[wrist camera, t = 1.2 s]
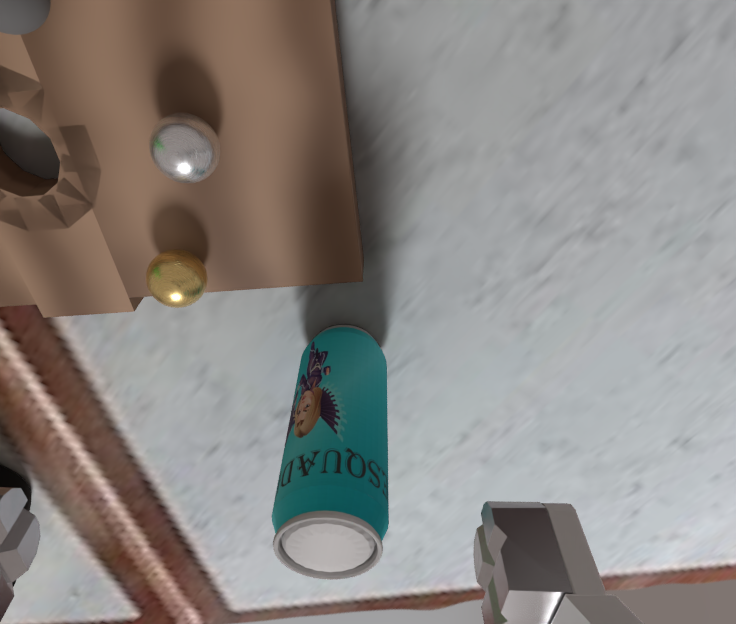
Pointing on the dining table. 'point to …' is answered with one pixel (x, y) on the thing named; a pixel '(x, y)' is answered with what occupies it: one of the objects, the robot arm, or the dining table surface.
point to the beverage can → (335, 459)
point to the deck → (137, 170)
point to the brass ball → (176, 278)
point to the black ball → (22, 15)
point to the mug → (15, 486)
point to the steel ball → (184, 148)
